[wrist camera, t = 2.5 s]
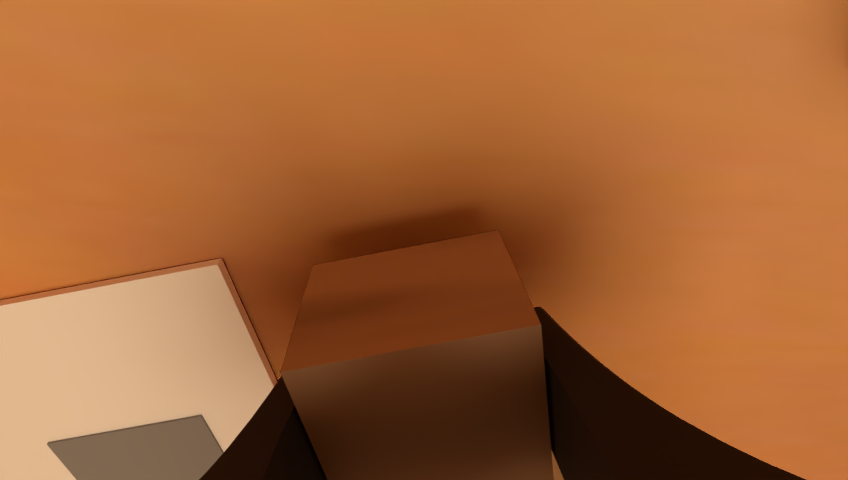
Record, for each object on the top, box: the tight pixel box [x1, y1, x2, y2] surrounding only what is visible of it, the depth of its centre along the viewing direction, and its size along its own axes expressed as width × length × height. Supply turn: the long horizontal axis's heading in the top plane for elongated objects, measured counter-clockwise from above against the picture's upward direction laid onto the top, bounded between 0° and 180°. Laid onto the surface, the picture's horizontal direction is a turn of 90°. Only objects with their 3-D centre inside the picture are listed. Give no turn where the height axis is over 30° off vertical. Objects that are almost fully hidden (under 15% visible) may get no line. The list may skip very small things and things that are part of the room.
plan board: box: [0, 258, 277, 480], centre depth 19 cm, size 18×12×1 cm, turn 10°
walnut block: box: [280, 230, 554, 480], centre depth 12 cm, size 5×5×4 cm
